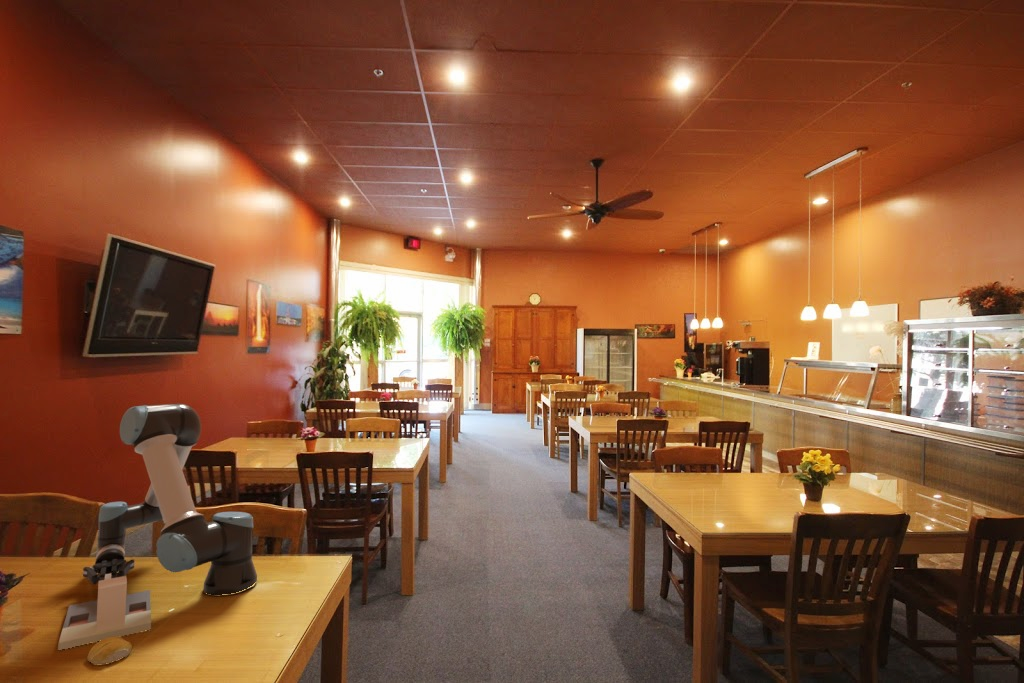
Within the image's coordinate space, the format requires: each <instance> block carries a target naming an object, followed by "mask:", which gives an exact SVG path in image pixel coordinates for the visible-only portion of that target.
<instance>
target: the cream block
mask: <svg viewBox="0 0 1024 683" xmlns="http://www.w3.org/2000/svg"><path fill="white" fill-rule="evenodd" d="M127 579H128V578H127V575H126V576H122V577H117V578H112V579H106V580H101V581H99V582H98V583H97V586H98V587H97V600H98V604H97V624H96V632H99V631H103V630H108V629H112V628H116V627H121V626H125V613H126V594H127V591H128V590H127V589H128V587H127V585H128V580H127Z"/></svg>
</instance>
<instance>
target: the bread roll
mask: <svg viewBox="0 0 1024 683" xmlns="http://www.w3.org/2000/svg"><path fill="white" fill-rule="evenodd" d="M132 649H133V645H132V643H131V642H130V641H128V640H125V639H124V638H123V637H109V638H106V639H103V640H101V641H99V642H96V643H94V645H93V646H92V647H91V648H90V649H89V652H88V654H87V661H89V662H88V663H90V662H91V663H90V664H92V663H93V664H106V663H110V662H112V661H116V660H118V659H120V658H122V657H125V658H126V657H128V655H129V654H130V652H131V651H132ZM93 664H92V665H93Z"/></svg>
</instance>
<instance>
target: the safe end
mask: <svg viewBox="0 0 1024 683" xmlns="http://www.w3.org/2000/svg"><path fill="white" fill-rule="evenodd" d="M96 624H97V621H96V622H91V623H86V624H81V625H76V626H72V627H67V628H63V627H62V630H61V633H60V636H59V640H58V646H57V651H58V650H61V651H63V650H62V649H65V650H69V649H68V648H70V649H73V648H72V647H74V648H76V647H75V646H79V645H82V644H87V643H90V642H96V641H100V640H103V639H106V638H109V637H119V636H123V637H125V636H124V635H127V636H130V635H129V634H132V635H134V634H133V633H136V634H139V633H138V632H141V631H145V630H149V631H151V630H152V609H151V610H149V611H144V612H139V613H134V614H129V615H125V626H121V627H116V628H112V629H108V630H103V631H99V632H96ZM150 629H151V630H150ZM145 632H146V631H145ZM141 633H142V632H141ZM96 643H97V642H96ZM87 645H88V644H87ZM79 647H80V646H79Z"/></svg>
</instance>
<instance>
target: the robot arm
mask: <svg viewBox="0 0 1024 683" xmlns="http://www.w3.org/2000/svg"><path fill="white" fill-rule="evenodd" d="M119 424H120V425H119V436H120V437H119V438H120V439H121V441H122V443H123V444H125V445H132V446H133V450H134V452H135V453H136V454H140V455H142V458H143V462H144V464H145V468H146V472H147V474H148V477H149V480H150V485H149V488H148V490H147V492H146V495H145V498H144V501H143V502H141V503H135V504H131V505H128V503H127V502H125V501H112V502H111V501H110V502H108V503H105V504H102V506H101V505H100V507H99V511H98V512H99V513H98V521H97V522H98V527H97V528H98V536H97V549H96V556H95V562H94V564H93V565H92V566H90V567H89V566H84V567H83V568H82V570H83V571H82V573H83V574H82V577H84V578H87V580H88V581H89V582H90V583H91V584H92V585H98V583H99V581H101V580H106V579H112V578H117V577H122V576H126V577H127V574H129V572H130V571H131V570H132V569H135V559H133V558H132V559H130V560H126V559H125V557H126V556H125V555H126V552H125V551H126V545H127V544H126V535H127V530H128V529H131V528H136V527H139V526H144V525H149V524H153V523H156V522H157V523H158V522H161V521H163V524H164V525H163V527H162V528H161V530H160V536H159V537H158V539H157V541H156V545H155V547H156V549H155V553H156V557H157V559H158V561H159V563H160V564H161V566H162V567H163V568H164V569H165V570H167V571H169V572H171V573H180V572H183V571H189V570H192V569H194V568H195V567H199V566H201V565H204V564H208V563H210V566H209V569H208V572H207V574H206V576H205V579H204V582H203V592H205V593H204V594H206V593H207V594H206V595H208V594H211V595H222V594H231V593H236V592H239V591H242V590H244V589H247V588H248V587H250V586H252V585H253V584H254V583H255V582H256V581H257V582H258V573H257V570H256V568H255V565H254V561H253V538H254V537H253V535H254V517H253V515H252V514H250V513H248V512H244V511H222V512H217V513H215V514H213V516H212V520H211V521H209V522H208V521H207V520H206V517H205V515H204V514H203V513H199V512H198V511H197V509H196V507H195V502H194V500H193V498H192V495H191V492H190V489H189V485H188V484H187V480H186V477H185V475H184V471H183V469H184V466H185V464H186V462H187V460H188V458H189V455H190V453H191V449H192V447H194V446H196V445H197V443H198V442H199V439H200V436H201V433H202V421H201V418H200V416H199V414H198V413H197V411H196V410H195V409H194V408H192V407H191V406H189V405H187V404H184V403H178V402H177V403H168V404H167V403H166V404H149V405H146V404H143V405H138V406H137V405H136V406H132V407H130V408H128V409H126V411H125V412H124V414H123V416H122V418H121V421H120V423H119ZM98 574H99V575H98ZM211 595H210V596H211Z"/></svg>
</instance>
